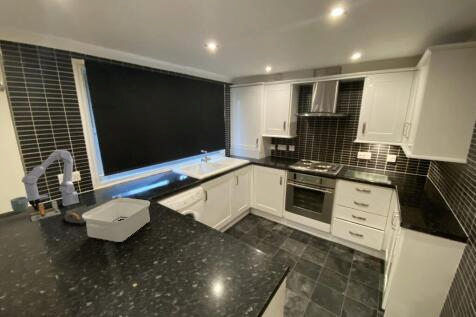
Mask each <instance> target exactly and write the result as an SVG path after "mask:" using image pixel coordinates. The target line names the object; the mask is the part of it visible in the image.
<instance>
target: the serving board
mask: <svg viewBox="0 0 476 317" xmlns="http://www.w3.org/2000/svg"><path fill="white" fill-rule="evenodd" d="M118 198H122V197H121V196H115V197H112V198H111V197H110V198H107V199H105V200H103V201H100V202H97V203H95V204H91V205H89V206H86V207H83V208H81V209H78V210H75V211H72V212H68V213H66V214H65V215H64V220H65V221H66V222H69V223H72V224H80V226H84V225H85V224H86V221H85V220H84V219H83V218H82V215H83V214H84V213H86V212H88V211H90V210H92V209H94V208H96V207H98V206H101V205H103V204H105V203H107V202H109V201H111V200H114V199H118Z"/></svg>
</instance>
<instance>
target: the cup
mask: <svg viewBox="0 0 476 317" xmlns="http://www.w3.org/2000/svg"><path fill="white" fill-rule="evenodd" d="M23 199H27V196H19V197H14V198H12V199H10V206H11V209H12V211H13V212H15V213H22V212H26V211H27V210H28V208H29V202H25V203H21V204H19V203H18V201H19V200H23Z"/></svg>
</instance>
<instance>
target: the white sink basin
mask: <svg viewBox="0 0 476 317" xmlns="http://www.w3.org/2000/svg"><path fill="white" fill-rule="evenodd" d="M150 205H151V202H150V201H149V200H146V199H145V200H144V199H136V198H130V197H121V198H118V199H114V200H111V201H109V202H107V203H105V204H103V205H101V206H98V207H96V208H94V209H92V210H90V211H88V212H86V213H84V214H83V215H82V218H83V219H84V220H85V221H86V222H85V225H86V231H87V237H89V238H92V239H95V238H96V240H101V239H102V240H103V241H106V240H108V241H107V242H112V241H113V243H117V242H122V243H124V242H125V241H126V239H127V238H128V237H129V238H131V237H132V236H133V235H135V234H136V233H137V232H138V231H137V230H139V229H140V228H141V227H143V226H144V225H145V224H146V223H148V222H149V223H150V220H151V219H150V218H151V217H150V210H149V207H150ZM120 219H124V220H121V221H118V220H120ZM149 223H148V224H149ZM145 226H146V225H145ZM145 226H144V227H145ZM144 227H143V228H144ZM141 229H142V228H141ZM141 229H140V230H141ZM140 230H139V231H140ZM136 231H137V232H136ZM135 232H136V233H135ZM134 233H135V234H134ZM132 234H133V235H132ZM131 235H132V236H131ZM130 236H131V237H130ZM129 238H128V239H129ZM128 239H127V240H128ZM102 240H101V241H102ZM124 240H125V241H124ZM123 241H124V242H123Z"/></svg>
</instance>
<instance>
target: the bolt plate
mask: <svg viewBox="0 0 476 317" xmlns="http://www.w3.org/2000/svg"><path fill="white" fill-rule="evenodd" d="M61 214H62V213H61V210H60V209H58V211H56V210H54V211H50V212H46V213H44V215H43V214H38V215H34V216H31V215H30V219H31V222H36V221H39V220H43V219H47V218H50V217H55V216H59V215H61Z"/></svg>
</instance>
